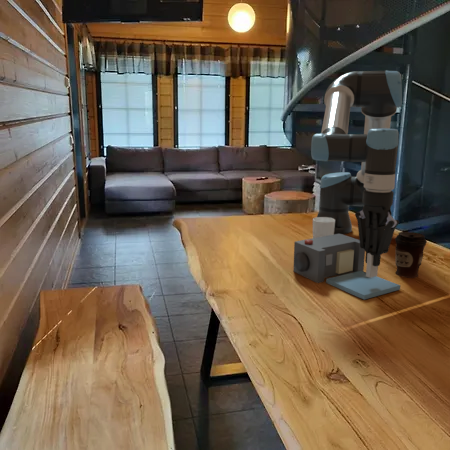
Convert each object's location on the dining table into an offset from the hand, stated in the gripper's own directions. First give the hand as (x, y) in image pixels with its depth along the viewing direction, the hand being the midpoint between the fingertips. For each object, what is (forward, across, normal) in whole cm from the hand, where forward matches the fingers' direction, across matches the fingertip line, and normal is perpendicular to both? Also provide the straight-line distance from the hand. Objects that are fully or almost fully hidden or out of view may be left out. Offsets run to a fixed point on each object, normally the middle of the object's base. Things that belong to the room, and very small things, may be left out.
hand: (371, 275), depth 125 cm
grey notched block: (+5, -17, 0) cm, 18 cm away
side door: (+4, -10, 0) cm, 11 cm away
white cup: (+5, -39, +18) cm, 43 cm away
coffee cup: (+5, -4, +19) cm, 20 cm away
